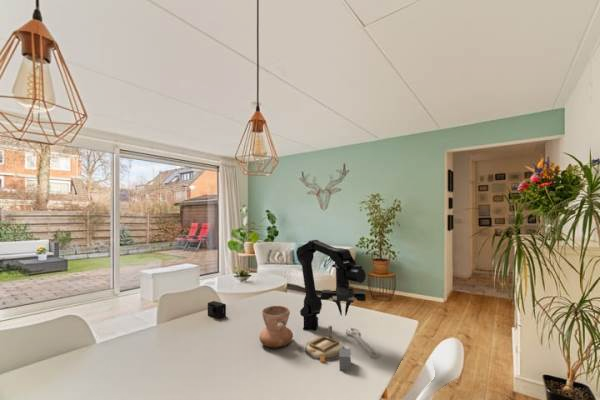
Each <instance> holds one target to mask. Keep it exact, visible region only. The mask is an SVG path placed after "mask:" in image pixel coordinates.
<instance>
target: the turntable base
mask: <svg viewBox="0 0 600 400" xmlns="http://www.w3.org/2000/svg"><path fill="white" fill-rule="evenodd" d="M304 353H305V355H307V357H308V358H311V359H313V360H316V361H317V360H318V361H319V362H320V363H325V362H326V361H327V362H329V361H334V360H337V359H338V360H339V356H337V357H334V358H329V359H325V356H323V355H320V358H316V357H313V356H311V355H310V354H308V353H307V351H306V347H304Z"/></svg>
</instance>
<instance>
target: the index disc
mask: <svg viewBox="0 0 600 400" xmlns="http://www.w3.org/2000/svg"><path fill="white" fill-rule="evenodd" d="M305 348H306V351H307V353H308V354H310V355H311V356H313V357H316V358H320V355H323V356H325V359H329V358H334V357H337V356H339V352H340V348H344V345H343V343H342V342H341V340H339V339H337V338H334V337H333V326H332V325H328V326H327V336H326V335H324V336H318V337H313V338H311V339H310V340H308V341H307V342H306V345H305Z"/></svg>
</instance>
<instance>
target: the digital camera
mask: <svg viewBox="0 0 600 400" xmlns="http://www.w3.org/2000/svg"><path fill="white" fill-rule="evenodd" d="M226 313H227V305H226V303H223V302H219V301H215V300H213V301H210V302H209V301H208V302H207V316H208V317H212V318H216V319H219V320H220V319H223V318H226V317H227V314H226Z"/></svg>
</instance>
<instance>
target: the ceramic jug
mask: <svg viewBox="0 0 600 400" xmlns="http://www.w3.org/2000/svg"><path fill="white" fill-rule="evenodd" d="M261 313H262V314H261V315H262V319H263V322H264V325H265V326H266V327H265V328H264V329H262V331H260V333H259V342H260V343H261V344H262V345H263V346H265V347H269V348H277V349H278V348H281V347H285V346H287V345H288V344H290V343H291V341H292V340H293V338H294V335H293V331H292V330H291V329H290V328H289V327H287V323H288V321H289V317H290V313H291V309H290V308H288V307H285V306H282V305H270V306H267V307H264V308H263V309H262V312H261Z"/></svg>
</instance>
